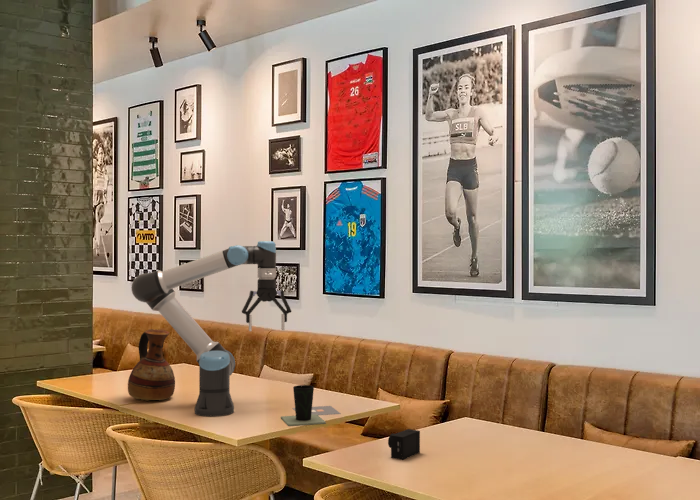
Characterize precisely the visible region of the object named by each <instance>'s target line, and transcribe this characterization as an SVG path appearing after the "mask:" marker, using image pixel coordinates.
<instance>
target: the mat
mask: <svg viewBox="0 0 700 500" xmlns="http://www.w3.org/2000/svg"><path fill="white" fill-rule="evenodd" d="M280 419H281V420H282V421H283V422H284V423H285V424H286V426H288V427H296V426H297V427H298V426H308V425H309V426H310V425H312V426H313V425H326V424H327V422H326V421H325V419H323V418H322V417H321V416H320V415H317V414H313V415H311V420H307V421H299V420H296V415H285V416H283V415H282V416H280Z"/></svg>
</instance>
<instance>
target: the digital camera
mask: <svg viewBox="0 0 700 500" xmlns="http://www.w3.org/2000/svg"><path fill="white" fill-rule="evenodd" d="M387 444H388V447H389V449H390V458H391V459H396V460H400V461H401V460H402V461H403V460H406V459H408V458H410V457H413V456H415V455H417V454H420V453H421V431H420V430H416V429H410V428H407V429H405V430H402V431H400V432H396V433H390V435H389V436H388V440H387Z"/></svg>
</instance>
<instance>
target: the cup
mask: <svg viewBox="0 0 700 500" xmlns="http://www.w3.org/2000/svg"><path fill="white" fill-rule="evenodd" d="M314 390H315V386H313V385H309V384H300V385H295V386H293V399H294V400H293V401H294V408H295V410H294V412H295V413H294V414H295V416H296V420H299V421H307V420H311V413H312V407H313V400H314Z"/></svg>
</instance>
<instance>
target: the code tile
mask: <svg viewBox="0 0 700 500" xmlns="http://www.w3.org/2000/svg"><path fill="white" fill-rule="evenodd" d="M292 410H293V411H295V407H292ZM313 414H317V415H318V416H328V415H329V416H330V415H341V414H342V413H341V412H340V411H338V410H337V409H336V408H334V407H333V406H332V405H324V406H323V405H322V406H312V413H311V415H313Z"/></svg>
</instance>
